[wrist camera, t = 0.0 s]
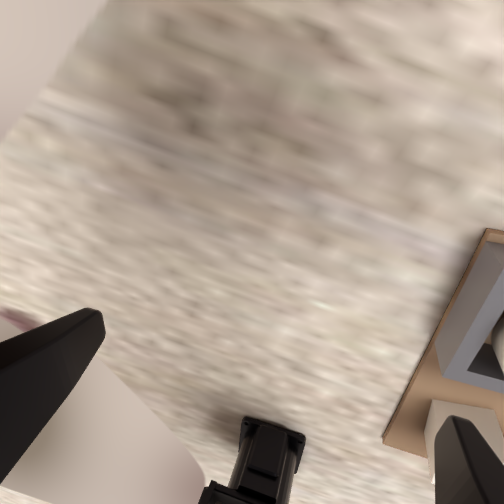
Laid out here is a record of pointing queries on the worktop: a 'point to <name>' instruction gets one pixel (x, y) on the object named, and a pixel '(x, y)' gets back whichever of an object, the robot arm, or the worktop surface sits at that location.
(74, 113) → the worktop surface
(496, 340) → the dome
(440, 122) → the worktop surface
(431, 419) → the die
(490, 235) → the board
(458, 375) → the frame
